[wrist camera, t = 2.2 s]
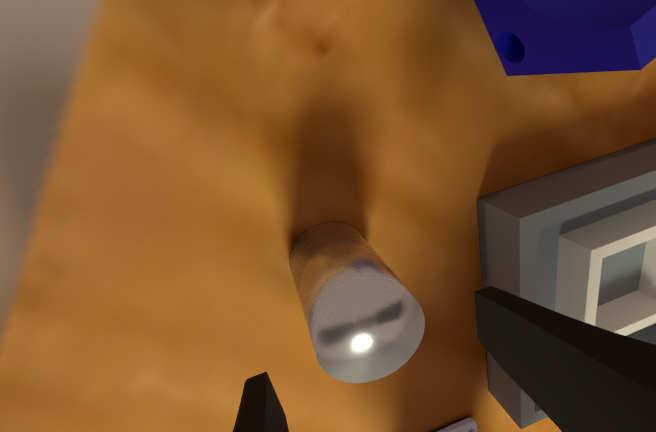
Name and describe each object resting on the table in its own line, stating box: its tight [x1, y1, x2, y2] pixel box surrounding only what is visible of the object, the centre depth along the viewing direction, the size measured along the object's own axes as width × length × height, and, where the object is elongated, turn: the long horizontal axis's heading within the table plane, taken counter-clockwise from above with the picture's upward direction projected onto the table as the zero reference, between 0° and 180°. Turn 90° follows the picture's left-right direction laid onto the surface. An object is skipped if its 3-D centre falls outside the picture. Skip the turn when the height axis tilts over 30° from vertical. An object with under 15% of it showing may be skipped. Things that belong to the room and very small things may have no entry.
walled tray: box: [477, 138, 656, 429], centre depth 21 cm, size 15×17×3 cm
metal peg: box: [290, 221, 425, 383], centre depth 14 cm, size 4×4×6 cm
